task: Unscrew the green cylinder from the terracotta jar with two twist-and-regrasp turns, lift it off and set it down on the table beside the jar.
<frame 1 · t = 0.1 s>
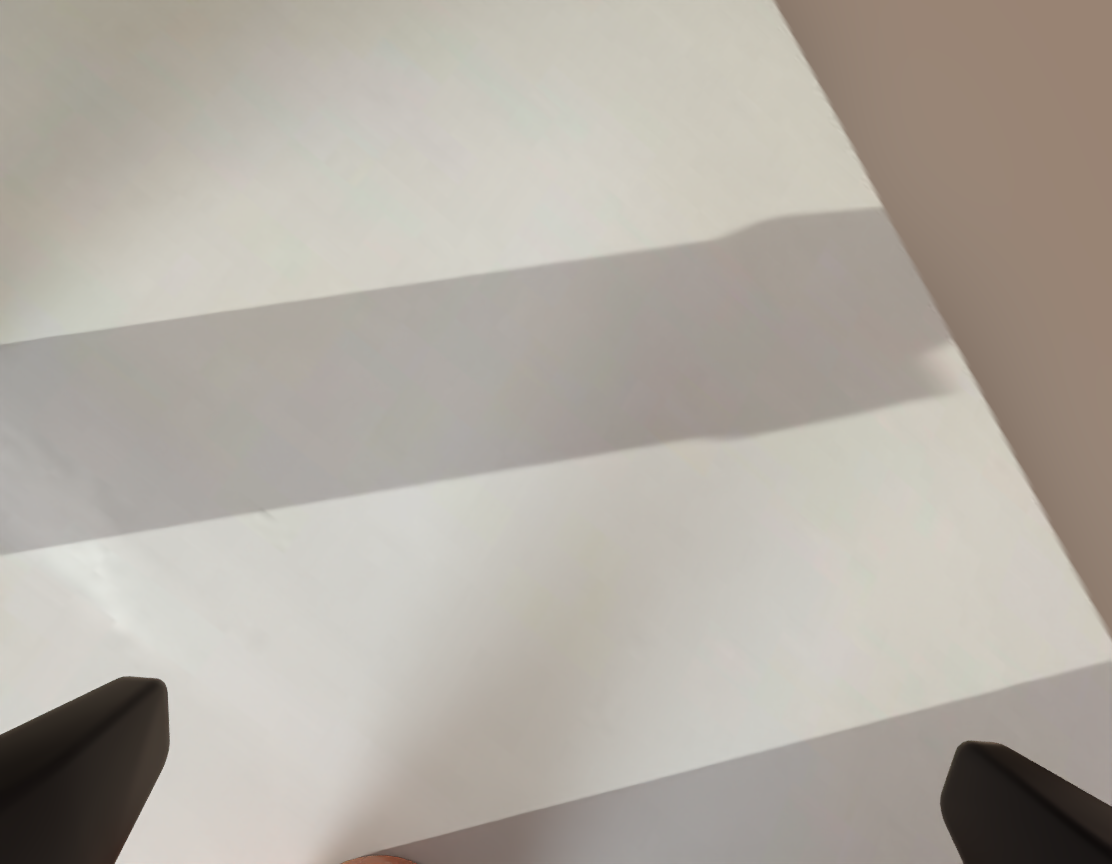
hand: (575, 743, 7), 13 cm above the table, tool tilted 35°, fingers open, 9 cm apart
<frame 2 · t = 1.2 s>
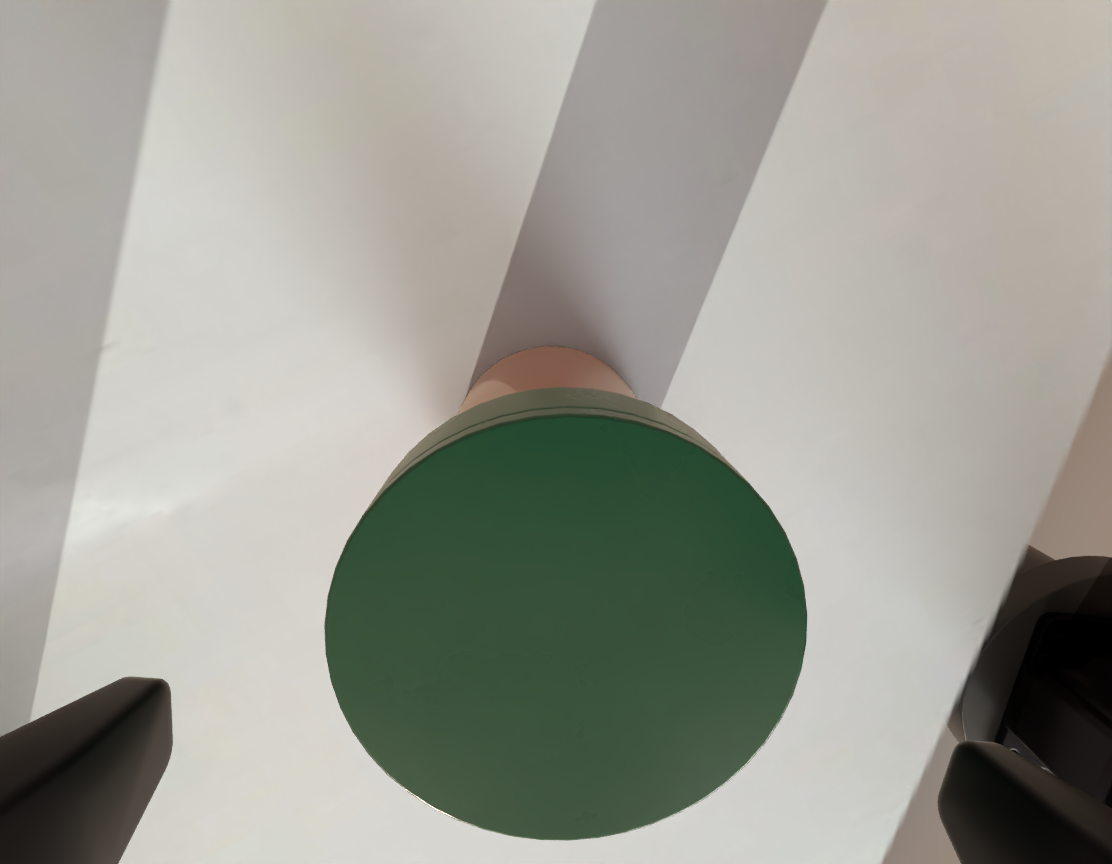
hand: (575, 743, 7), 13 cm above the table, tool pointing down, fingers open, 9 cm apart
jar: (550, 439, 20), on the table
green cylinder: (567, 633, 9), point 11 cm above the table, screwed on, not yet turned
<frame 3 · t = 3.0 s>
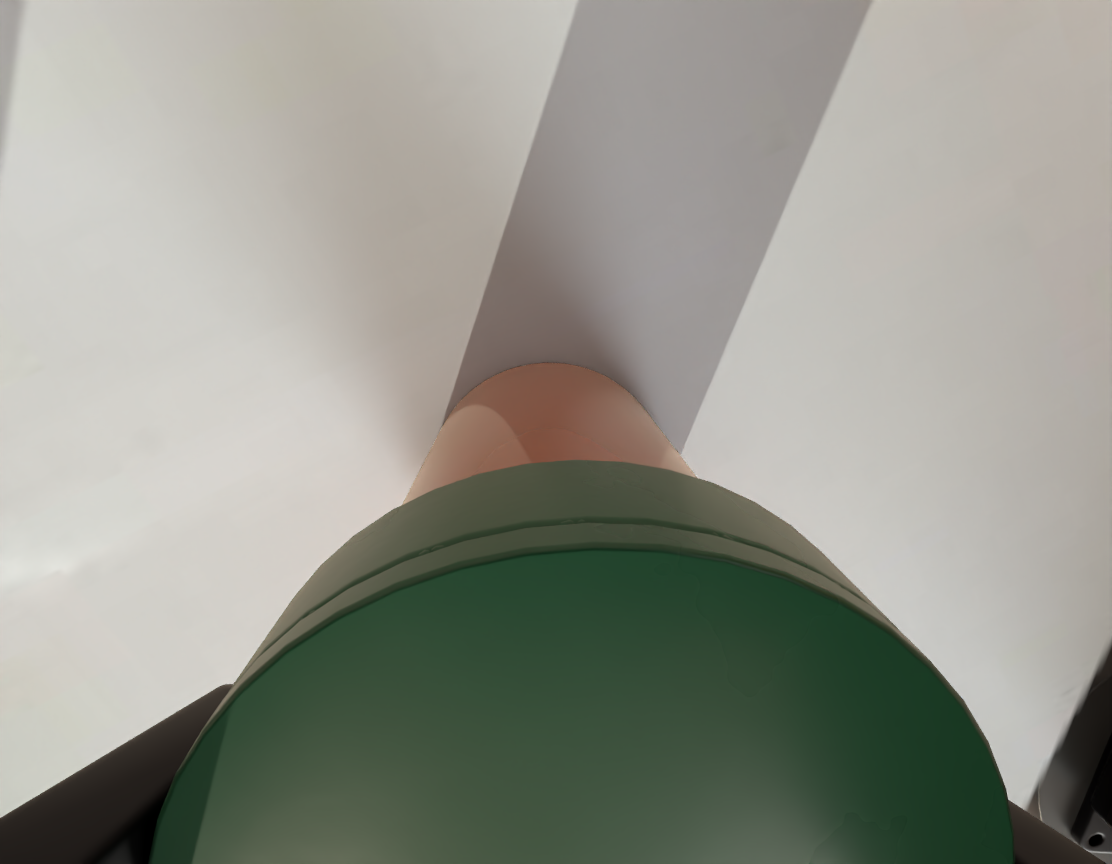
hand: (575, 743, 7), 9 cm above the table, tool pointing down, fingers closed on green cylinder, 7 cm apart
jar: (548, 478, 16), on the table
when the fingers open (5 cm above the table, at t = 6.9 s): green cylinder stays where it is, point 11 cm above the table.
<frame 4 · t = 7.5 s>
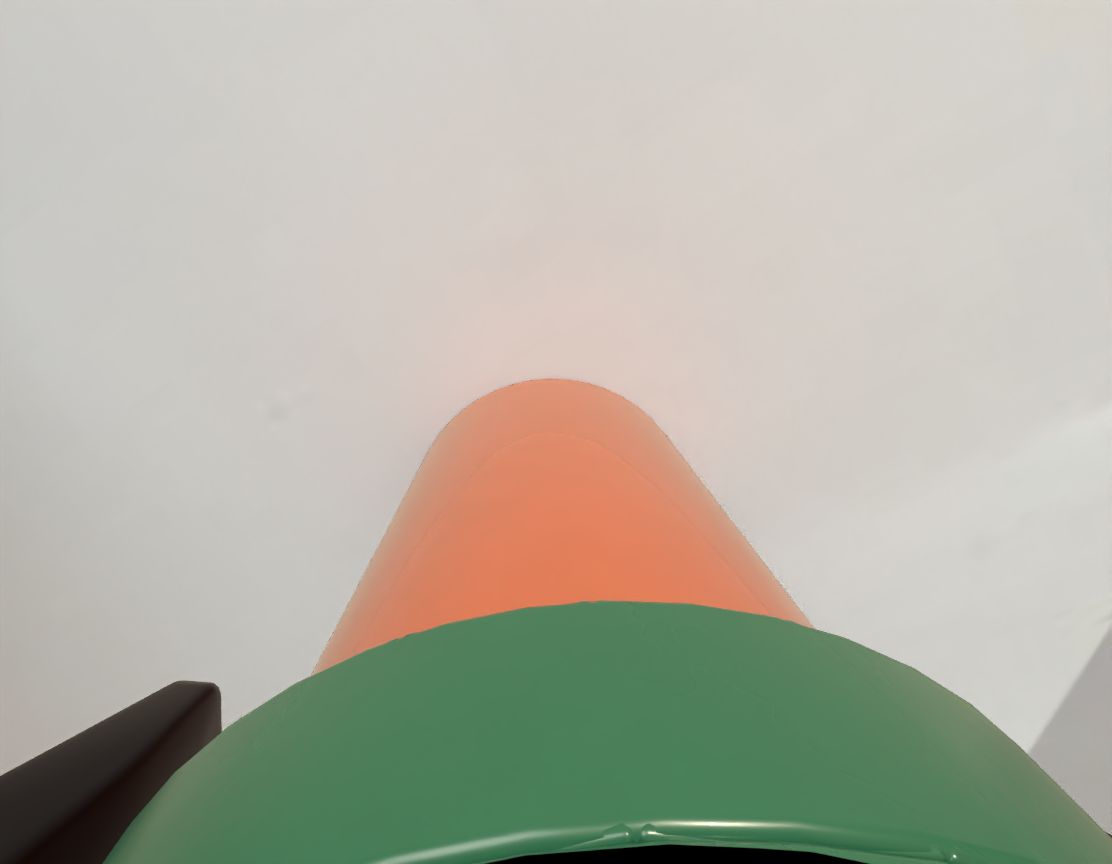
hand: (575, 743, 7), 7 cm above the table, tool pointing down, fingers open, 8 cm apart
jar: (552, 512, 13), on the table
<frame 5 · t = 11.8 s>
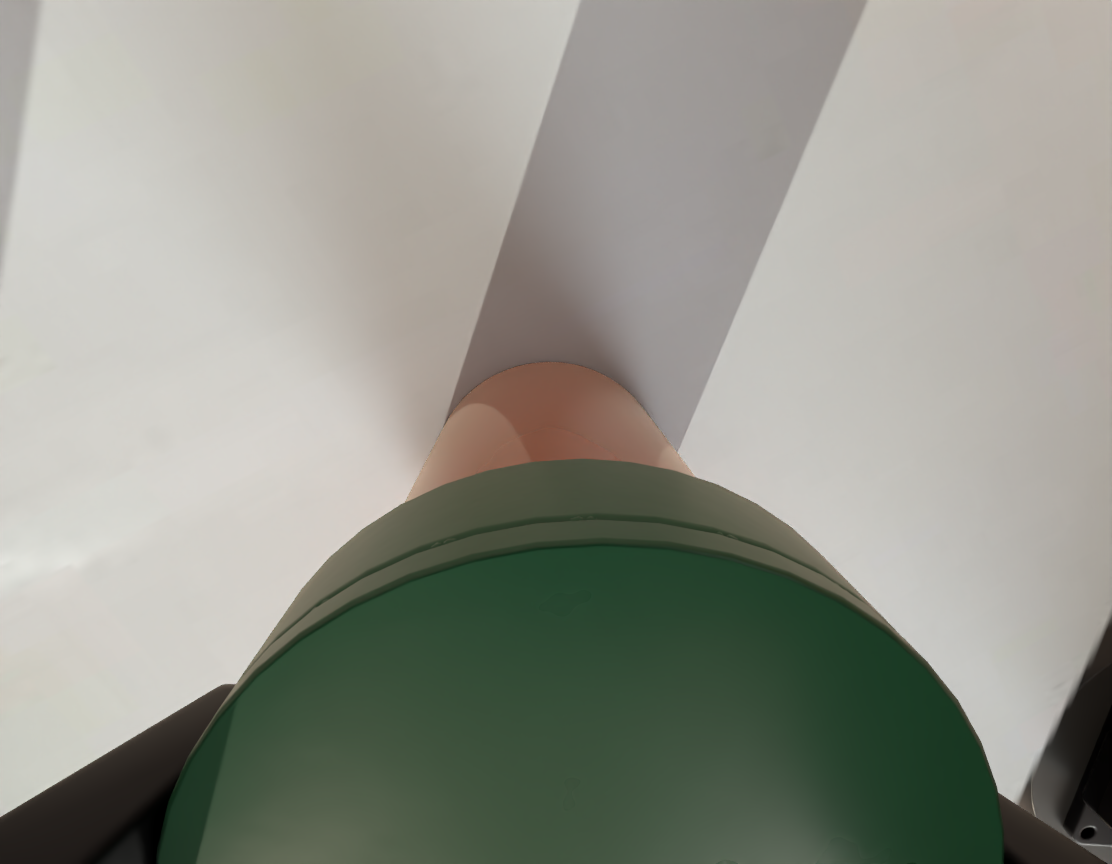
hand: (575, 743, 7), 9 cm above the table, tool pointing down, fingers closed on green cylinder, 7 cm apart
jar: (549, 474, 16), on the table
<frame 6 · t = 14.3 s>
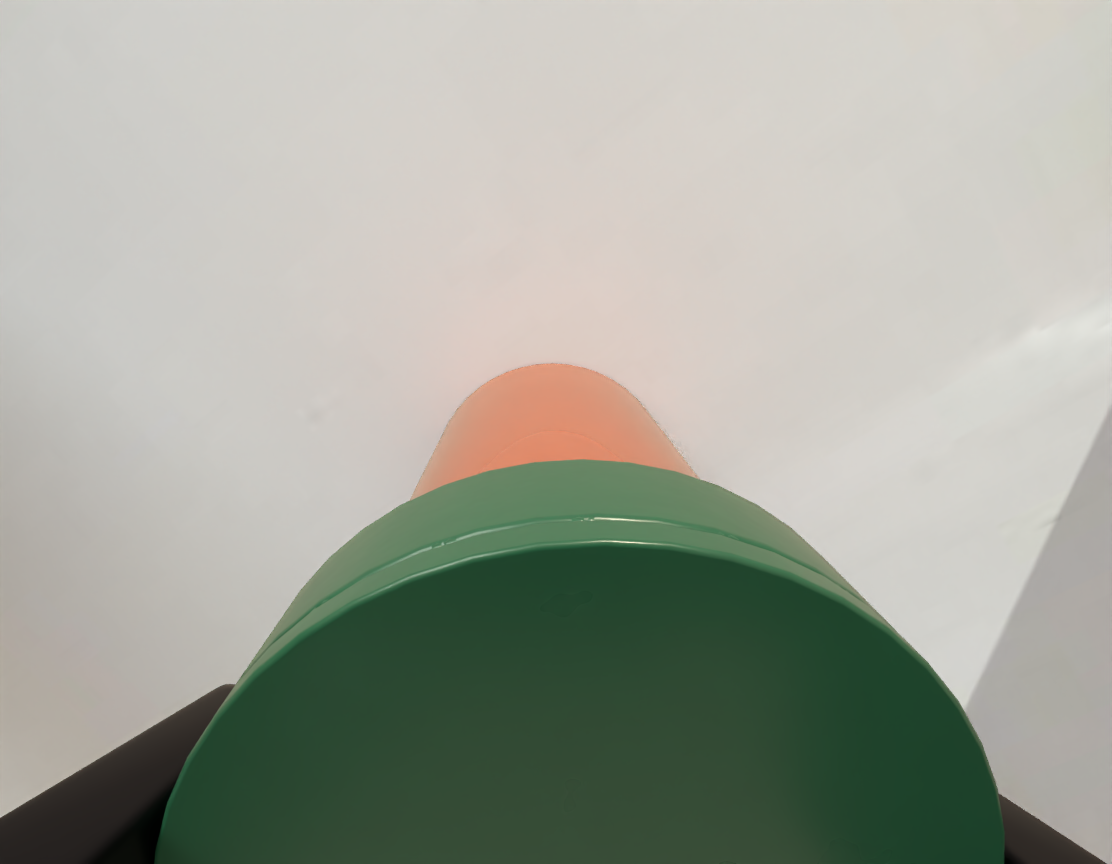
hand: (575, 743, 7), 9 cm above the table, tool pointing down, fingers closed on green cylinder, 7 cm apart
jar: (551, 477, 16), on the table
when the fingers open (0 cm above the table, at t = 20.3 s): green cylinder stays where it is, point 1 cm above the table.
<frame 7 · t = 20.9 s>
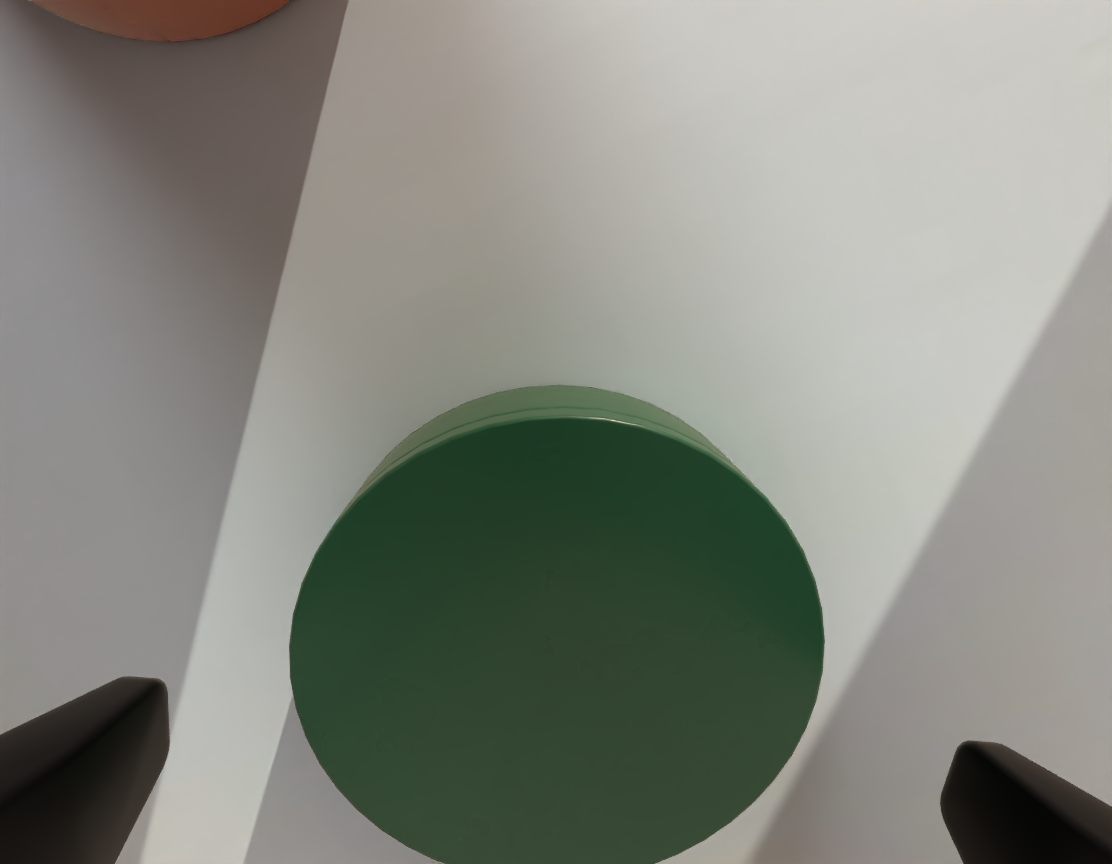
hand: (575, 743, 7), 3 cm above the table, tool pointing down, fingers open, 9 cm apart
green cylinder: (559, 656, 9), point 1 cm above the table, off its thread
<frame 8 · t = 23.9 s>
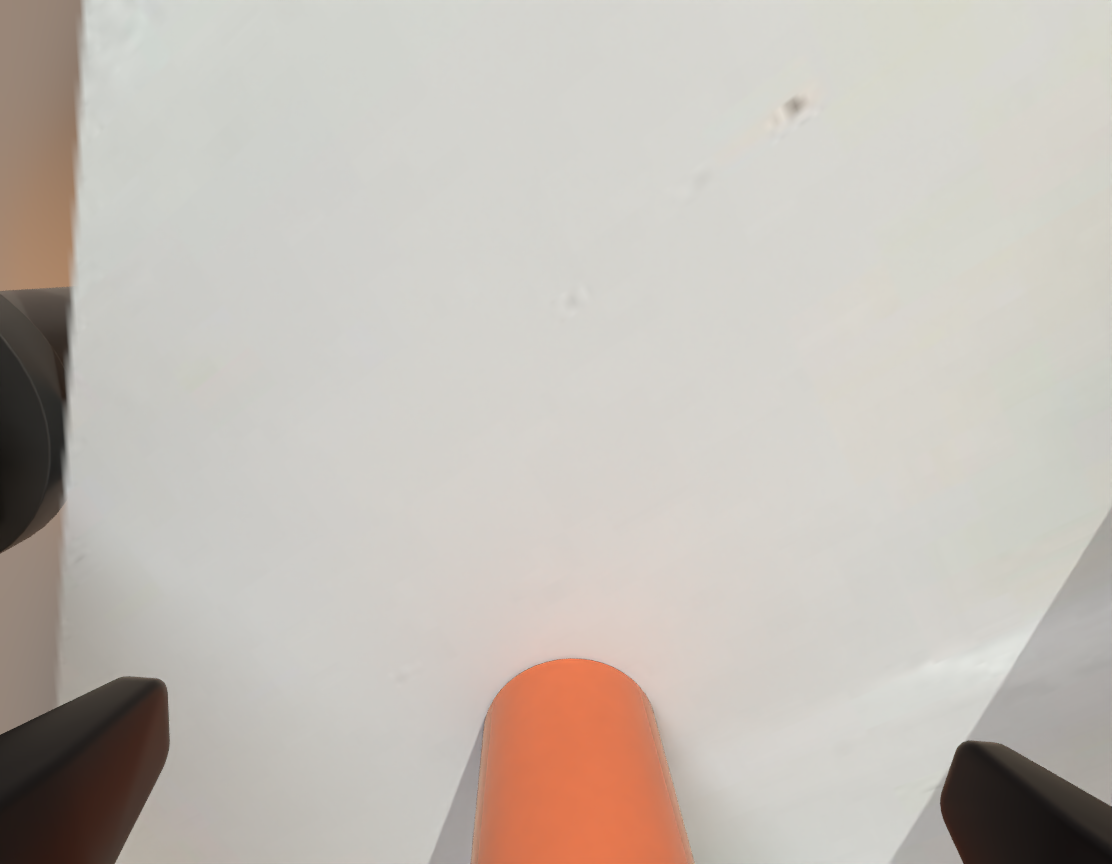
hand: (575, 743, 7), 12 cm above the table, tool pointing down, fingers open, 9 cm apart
jar: (569, 732, 21), on the table
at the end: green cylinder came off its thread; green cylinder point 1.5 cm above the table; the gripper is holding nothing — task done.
